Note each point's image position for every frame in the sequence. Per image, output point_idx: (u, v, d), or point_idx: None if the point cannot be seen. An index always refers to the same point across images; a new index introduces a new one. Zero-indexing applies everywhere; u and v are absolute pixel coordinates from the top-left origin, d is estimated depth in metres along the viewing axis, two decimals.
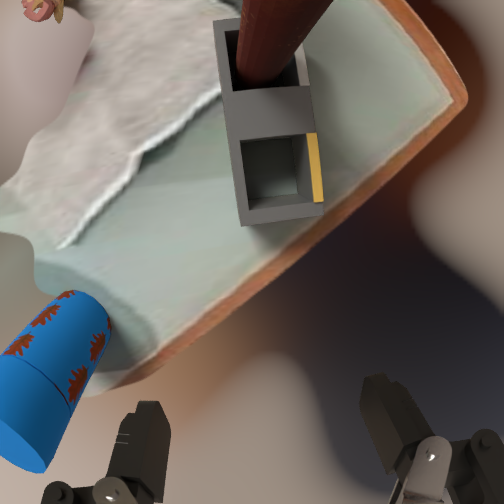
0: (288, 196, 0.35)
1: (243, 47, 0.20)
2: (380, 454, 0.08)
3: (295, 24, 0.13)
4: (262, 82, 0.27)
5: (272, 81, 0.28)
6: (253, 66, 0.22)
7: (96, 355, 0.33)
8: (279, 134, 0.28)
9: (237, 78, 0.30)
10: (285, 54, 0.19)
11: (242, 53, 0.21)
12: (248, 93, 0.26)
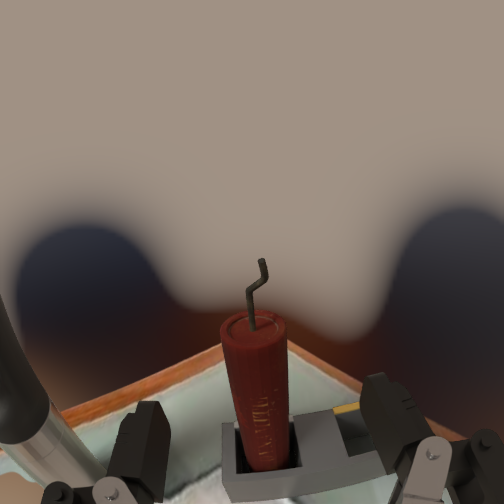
0: None
1: (276, 435, 0.24)
2: (380, 454, 0.08)
3: None
4: None
5: None
6: (286, 439, 0.26)
7: None
8: (338, 431, 0.29)
9: None
10: None
11: (276, 443, 0.24)
12: (304, 455, 0.26)
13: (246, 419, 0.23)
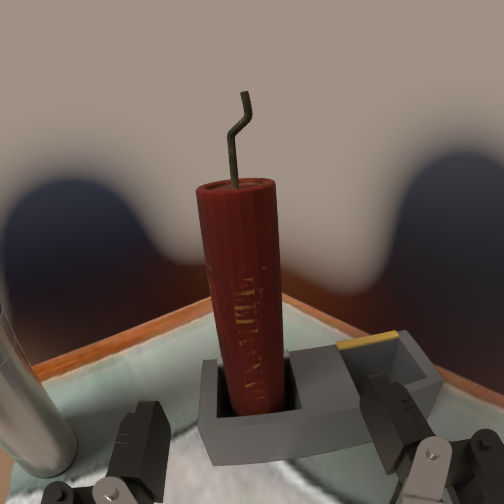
0: None
1: (266, 352, 0.21)
2: (380, 454, 0.08)
3: None
4: None
5: None
6: (280, 367, 0.22)
7: None
8: (345, 368, 0.26)
9: None
10: None
11: (268, 367, 0.21)
12: (303, 395, 0.23)
13: (227, 321, 0.20)
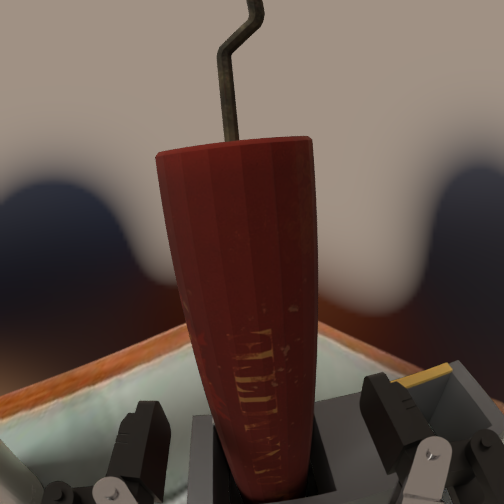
0: (440, 424, 0.19)
1: (290, 435, 0.11)
2: (380, 454, 0.08)
3: None
4: None
5: None
6: (308, 444, 0.13)
7: None
8: None
9: None
10: None
11: (290, 451, 0.12)
12: (337, 470, 0.14)
13: (222, 397, 0.10)
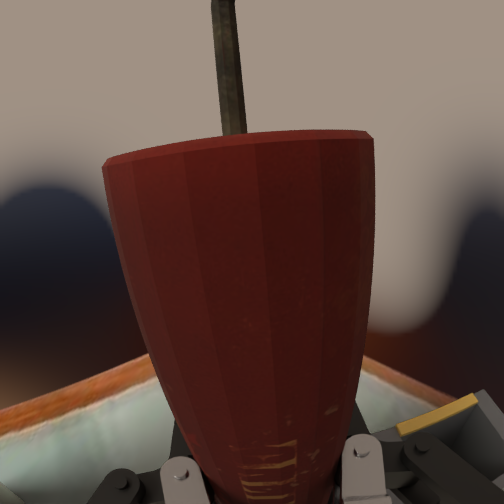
0: (459, 455, 0.16)
1: None
2: None
3: None
4: None
5: None
6: None
7: None
8: None
9: None
10: None
11: None
12: None
13: (224, 490, 0.06)
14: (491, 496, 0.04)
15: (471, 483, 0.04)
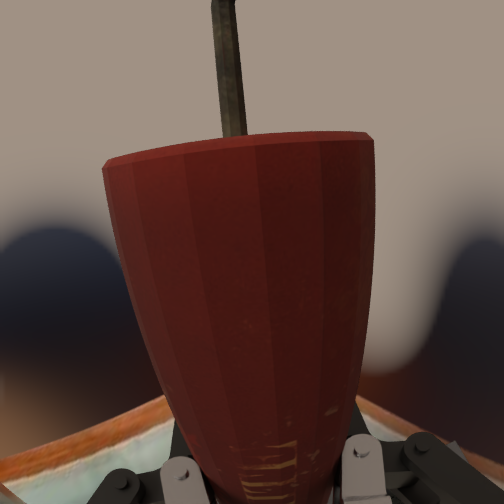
0: None
1: None
2: None
3: None
4: None
5: None
6: None
7: None
8: None
9: None
10: None
11: None
12: None
13: (224, 490, 0.06)
14: (491, 496, 0.04)
15: (471, 484, 0.04)
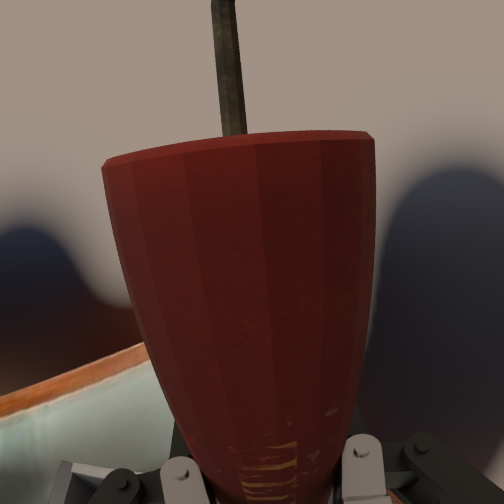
0: None
1: None
2: None
3: None
4: None
5: None
6: None
7: None
8: None
9: None
10: None
11: None
12: None
13: (224, 491, 0.06)
14: (491, 496, 0.04)
15: (471, 483, 0.04)
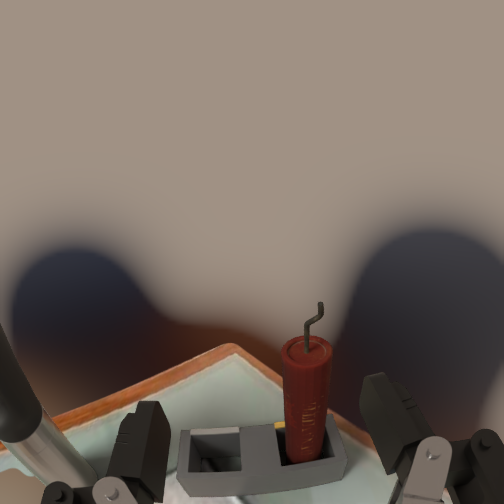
0: (323, 447, 0.37)
1: (317, 432, 0.29)
2: (380, 454, 0.08)
3: None
4: None
5: None
6: (323, 435, 0.31)
7: None
8: (276, 443, 0.34)
9: None
10: None
11: (316, 438, 0.30)
12: (244, 461, 0.32)
13: (296, 420, 0.29)
14: None
15: None
